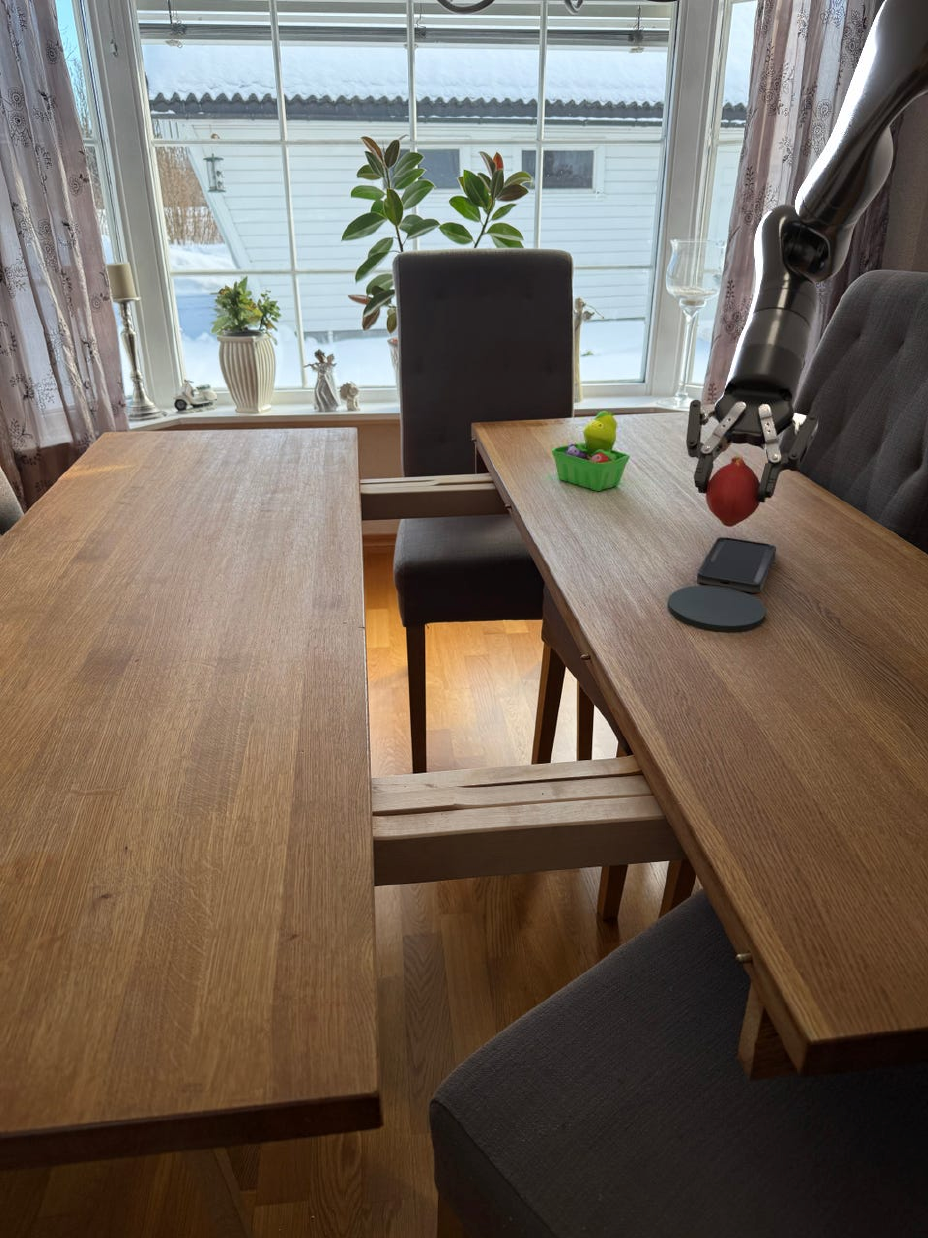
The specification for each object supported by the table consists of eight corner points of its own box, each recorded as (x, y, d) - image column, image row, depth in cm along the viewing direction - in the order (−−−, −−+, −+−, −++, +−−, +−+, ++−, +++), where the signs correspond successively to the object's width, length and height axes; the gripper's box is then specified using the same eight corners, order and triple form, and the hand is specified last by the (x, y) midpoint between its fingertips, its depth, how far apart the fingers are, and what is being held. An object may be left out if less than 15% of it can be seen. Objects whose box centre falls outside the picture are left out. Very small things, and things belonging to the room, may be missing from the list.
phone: (777, 545, 118) (760, 585, 106) (776, 553, 119) (759, 594, 106) (717, 535, 121) (694, 573, 109) (716, 543, 122) (693, 582, 109)
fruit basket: (547, 478, 148) (550, 411, 143) (583, 469, 153) (587, 403, 149) (598, 495, 141) (604, 424, 136) (634, 484, 146) (641, 416, 141)
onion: (710, 513, 101) (719, 445, 98) (761, 522, 99) (772, 452, 95) (695, 529, 97) (704, 458, 93) (748, 539, 94) (759, 466, 91)
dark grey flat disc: (763, 597, 106) (764, 591, 106) (767, 637, 96) (768, 631, 96) (669, 587, 108) (670, 581, 108) (664, 625, 99) (665, 618, 98)
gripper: (701, 335, 98) (660, 467, 94) (838, 346, 93) (801, 487, 88) (705, 376, 105) (668, 500, 101) (834, 388, 99) (800, 521, 95)
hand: (730, 493), depth 94 cm, fingers closed on onion, 5 cm apart
